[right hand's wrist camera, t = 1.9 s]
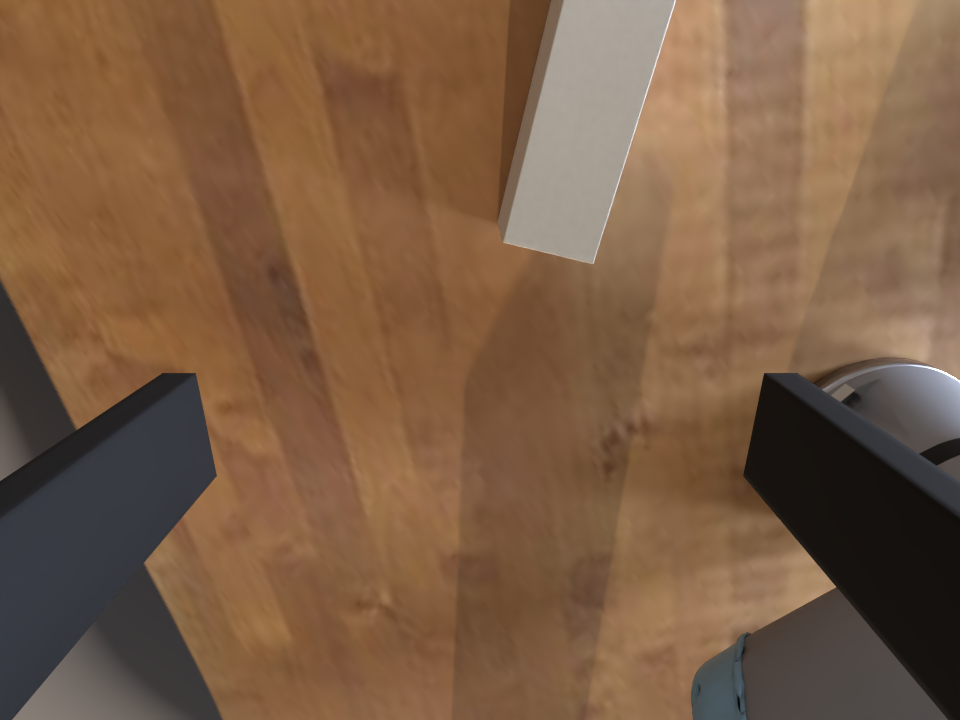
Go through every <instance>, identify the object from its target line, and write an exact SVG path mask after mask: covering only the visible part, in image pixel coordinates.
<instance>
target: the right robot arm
mask: <svg viewBox="0 0 960 720" xmlns="http://www.w3.org/2000/svg"><path fill="white" fill-rule="evenodd" d="M216 476H217V475H216V470H215V465H214V460H213V455H212V451H211V446H210V441H209V436H208V431H207V426H206V421H205V416H204V411H203V406H202V401H201V396H200V391H199V386H198V382H197V377H196V373H162V374H161V375H159V376H158V377H156V378H155V379H153V380H152V381H150V382H149V383H147V384H146V385H144V386H143V387H141V388H140V389H138V390H137V391H135V392H134V393H132V394H131V395H129V396H128V397H126V398H125V399H123V400H122V401H120V402H119V403H117V404H116V405H114V406H113V407H111V408H110V409H108V410H107V411H105V412H104V413H102V414H101V415H99V416H98V417H96V418H95V419H93V420H92V421H90V422H89V423H87V424H86V425H84V426H83V427H81V428H80V429H78V430H77V431H75V432H74V433H72V434H71V435H69V436H68V437H66V438H65V439H63V440H62V441H60V442H58V443H57V444H55V445H54V446H53V447H51V448H49V449H48V450H46V451H45V452H43V453H42V454H40V455H39V456H37V457H36V458H34V459H33V460H31V461H30V462H28V463H27V464H25V465H24V466H22V467H21V468H19V469H18V470H17V471H15V472H13V473H12V474H10V475H9V476H7V477H6V478H4V479H3V480H1V481H0V720H12V719H13V718H14V717H15V715H16V714H17V713H18V712H19V711H20V710H21V708H22V707H23V706H24V705H25V703H26V702H27V701H28V700H29V699H30V698H31V696H32V695H33V694H34V693H35V692H36V690H37V689H38V688H39V687H40V686H41V684H42V683H43V682H44V681H45V680H46V679H47V677H48V676H49V675H50V674H51V673H52V671H53V670H54V669H55V668H56V667H57V665H58V664H59V663H60V662H61V661H62V660H63V658H64V657H65V656H66V655H67V653H68V652H69V651H70V650H71V649H72V648H73V646H74V645H75V644H76V643H77V642H78V640H79V639H80V638H81V637H82V636H83V634H84V633H85V632H86V631H87V630H88V629H89V627H90V626H91V625H92V624H93V623H94V621H95V620H96V619H97V618H98V617H99V615H100V614H101V613H102V612H103V611H104V609H105V608H106V607H107V606H108V605H109V603H110V602H111V601H112V600H113V599H114V598H115V596H116V595H117V594H118V593H119V592H120V590H121V589H122V588H123V587H124V586H125V584H126V583H127V582H128V581H129V580H130V579H131V577H132V576H133V575H134V574H135V573H136V571H137V570H138V569H139V568H140V567H141V565H142V564H143V563H144V562H145V561H146V559H147V558H148V557H149V556H150V555H151V553H152V552H153V551H154V550H155V549H156V548H157V546H158V545H159V544H160V543H161V542H162V540H163V539H164V538H165V537H166V536H167V534H168V533H169V532H170V531H171V530H172V528H173V527H174V526H175V525H176V524H177V523H178V521H179V520H180V519H181V518H182V517H183V515H184V514H185V513H186V512H187V511H188V509H189V508H190V507H191V506H192V505H193V503H194V502H195V501H196V500H197V499H198V498H199V496H200V495H201V494H202V493H203V492H204V490H205V489H206V488H207V487H208V486H209V484H210V483H211V482H212V481H213V480H214V478H215V477H216ZM743 476H744V477H745V478H746V480H747V481H748V482H749V483H750V484H751V486H752V487H753V488H754V489H755V490H756V492H757V493H758V494H759V495H760V496H761V498H762V499H763V500H764V501H765V502H766V503H767V505H768V506H769V507H770V508H771V509H772V511H773V512H774V513H775V514H776V515H777V517H778V518H779V519H780V520H781V521H782V523H783V524H784V525H785V526H786V527H787V528H788V530H789V531H790V532H791V533H792V534H793V536H794V537H795V538H796V539H797V540H798V542H799V543H800V544H801V545H802V546H803V548H804V549H805V550H806V551H807V552H808V553H809V555H810V556H811V557H812V558H813V559H814V561H815V562H816V563H817V564H818V565H819V567H820V568H821V569H822V570H823V571H824V573H825V574H826V575H827V576H828V577H829V579H830V580H831V581H832V582H833V583H834V584H835V586H836V588H834V589H833V590H831V591H829V592H827V593H825V594H823V595H822V596H820V597H818V598H816V599H814V600H813V601H811V602H809V603H807V604H805V605H803V606H802V607H800V608H798V609H796V610H794V611H792V612H791V613H789V614H787V615H785V616H783V617H782V618H780V619H778V620H776V621H774V622H772V623H771V624H769V625H767V626H765V627H763V628H761V629H760V630H758V631H756V632H754V633H752V634H750V633H748V632H747V633H744V634H742V635H741V636H740V637H739V638H738V639H737V642H736V643H735V644H734V645H732V646H731V647H729V648H727V649H726V650H724V651H723V652H721V653H719V654H718V655H716V656H715V657H713V658H712V659H710V660H708V661H707V662H705V663H704V664H703V665H702V666H701V667H700V668H699V669H698V671H697V673H696V675H695V677H694V680H693V683H692V690H691V703H692V716H693V720H960V381H958V380H957V379H956V378H954V377H952V376H951V375H949V374H947V373H945V372H943V371H941V370H938V369H936V368H934V367H932V366H929V365H927V364H925V363H922V362H919V361H915V360H910V359H905V358H879V359H871V360H866V361H862V362H858V363H855V364H852V365H849V366H846V367H844V368H841V369H839V370H837V371H835V372H833V373H831V374H829V375H827V376H826V377H824V378H822V379H821V380H819V381H818V382H816V383H815V384H813V383H811V382H810V381H808V380H807V379H805V378H804V377H802V376H801V375H799V374H798V373H764V377H763V382H762V386H761V391H760V396H759V401H758V406H757V411H756V416H755V421H754V426H753V431H752V436H751V441H750V446H749V451H748V455H747V460H746V465H745V470H744V475H743Z"/></svg>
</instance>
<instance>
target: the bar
mask: <svg viewBox="0 0 960 720" xmlns="http://www.w3.org/2000/svg"><path fill="white" fill-rule="evenodd" d="M675 2H676V0H551V3H550V7H549V11H548V15H547V20H546V24H545V28H544V32H543V36H542V40H541V44H540V48H539V53H538V57H537V61H536V65H535V69H534V73H533V77H532V81H531V86H530V90H529V94H528V98H527V102H526V106H525V110H524V114H523V119H522V123H521V127H520V131H519V135H518V139H517V143H516V147H515V152H514V156H513V160H512V164H511V168H510V172H509V176H508V180H507V185H506V189H505V193H504V197H503V201H502V205H501V209H500V213H499V218H498V222H497V224H498V227H499V230H500V234H501V237H502V240H503V242H504V243H507V244H511V245H515V246H519V247H524V248H528V249H532V250H536V251H540V252H544V253H548V254H553V255H557V256H561V257H565V258H569V259H573V260H578V261H582V262H586V263H590V264H593V263H594V260H595V257H596V254H597V251H598V247H599V244H600V241H601V238H602V235H603V231H604V228H605V225H606V222H607V219H608V215H609V212H610V209H611V206H612V203H613V199H614V196H615V193H616V190H617V187H618V184H619V180H620V177H621V174H622V171H623V168H624V164H625V161H626V158H627V155H628V152H629V148H630V145H631V142H632V139H633V136H634V132H635V129H636V126H637V123H638V120H639V117H640V113H641V110H642V107H643V104H644V101H645V97H646V94H647V91H648V88H649V85H650V81H651V78H652V75H653V72H654V69H655V65H656V62H657V59H658V56H659V53H660V50H661V46H662V43H663V40H664V37H665V34H666V30H667V27H668V24H669V21H670V18H671V14H672V11H673V8H674V5H675Z"/></svg>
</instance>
